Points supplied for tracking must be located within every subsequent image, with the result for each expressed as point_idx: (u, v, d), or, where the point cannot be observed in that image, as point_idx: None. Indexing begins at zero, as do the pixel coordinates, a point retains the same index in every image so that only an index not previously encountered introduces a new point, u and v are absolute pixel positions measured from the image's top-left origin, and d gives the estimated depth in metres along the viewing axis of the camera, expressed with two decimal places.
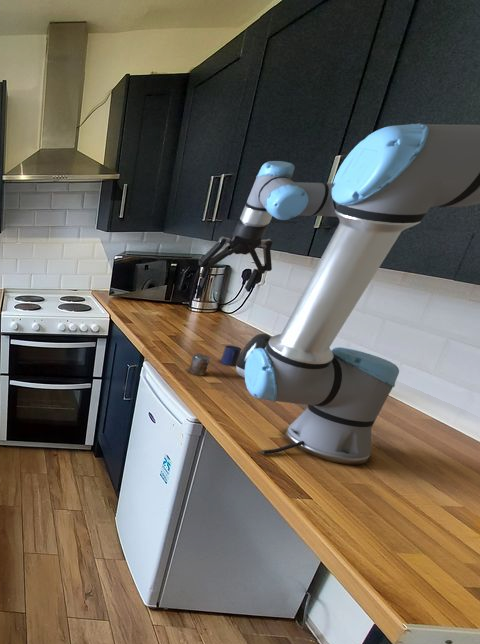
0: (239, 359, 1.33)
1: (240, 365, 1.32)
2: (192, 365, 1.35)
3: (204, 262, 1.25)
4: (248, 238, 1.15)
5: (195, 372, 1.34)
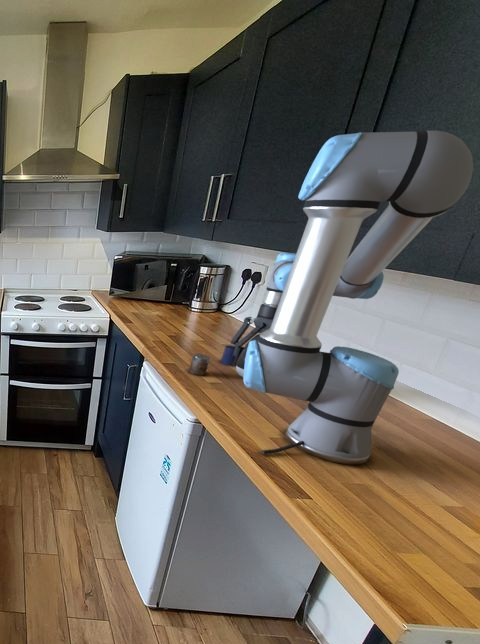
0: (239, 359, 1.33)
1: (240, 365, 1.32)
2: (192, 365, 1.35)
3: (233, 339, 1.35)
4: (263, 316, 1.25)
5: (195, 372, 1.34)
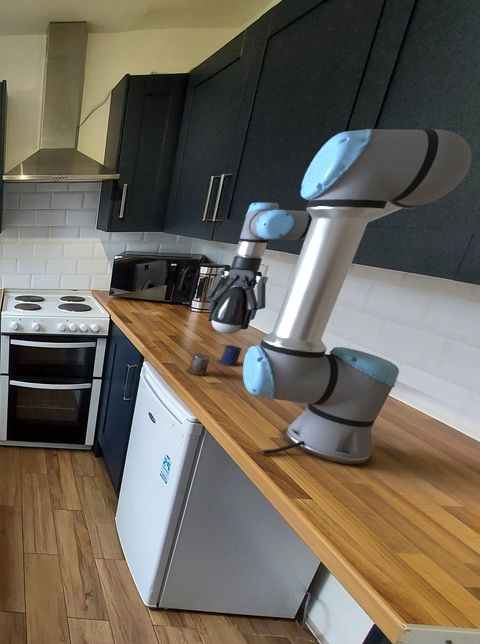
0: (214, 313, 1.34)
1: (215, 318, 1.33)
2: (192, 365, 1.35)
3: (209, 294, 1.37)
4: (236, 267, 1.26)
5: (195, 372, 1.34)
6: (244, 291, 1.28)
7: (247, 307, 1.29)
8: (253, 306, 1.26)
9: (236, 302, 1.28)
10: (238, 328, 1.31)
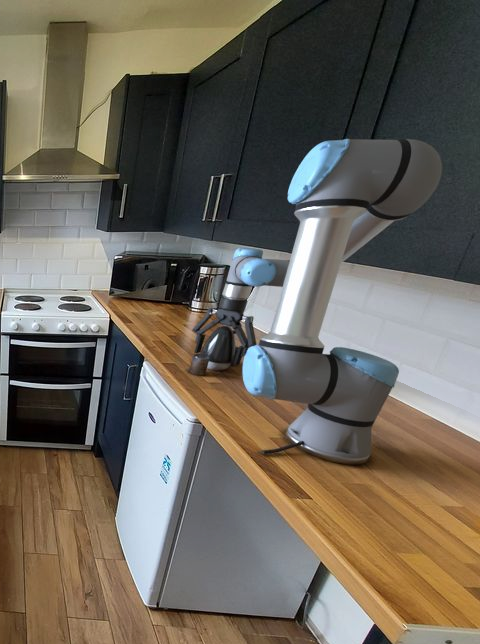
0: (202, 350, 1.40)
1: None
2: (192, 365, 1.35)
3: (195, 327, 1.43)
4: (223, 308, 1.32)
5: (195, 372, 1.34)
6: (231, 331, 1.34)
7: (233, 346, 1.35)
8: (244, 344, 1.30)
9: (223, 342, 1.34)
10: (225, 366, 1.36)
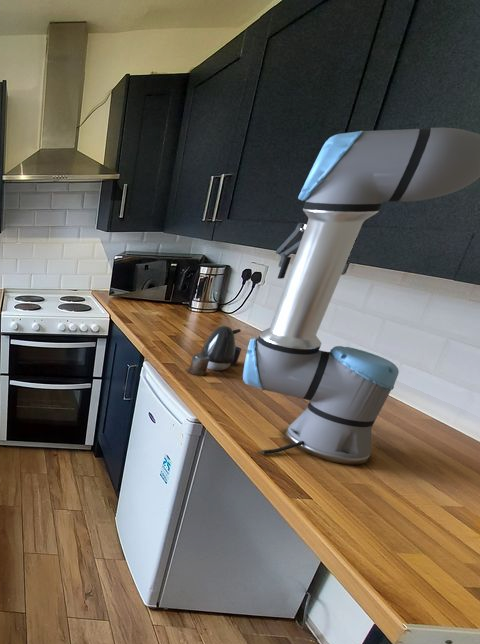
0: (202, 350, 1.40)
1: None
2: (192, 365, 1.35)
3: (280, 248, 1.25)
4: None
5: (195, 372, 1.34)
6: (231, 331, 1.34)
7: (233, 346, 1.35)
8: None
9: (223, 342, 1.34)
10: (225, 366, 1.36)
